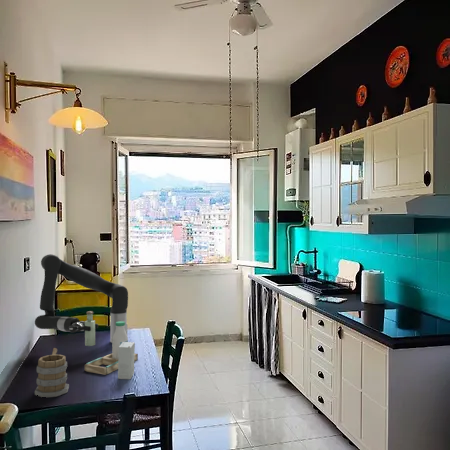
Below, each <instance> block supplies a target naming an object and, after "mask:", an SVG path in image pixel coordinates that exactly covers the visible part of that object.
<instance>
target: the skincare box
mask: <svg viewBox="0 0 450 450" xmlns="http://www.w3.org/2000/svg"><path fill="white" fill-rule="evenodd" d="M135 345H136V343H135V342H134V341H128V342H122V344H121V345H120V346H119V357H118V369H117V379H118V380H131V379H132V377H133V375H134V374H135V361H134V355H135V354H136V353H135V351H136V348H135V347H136V346H135Z"/></svg>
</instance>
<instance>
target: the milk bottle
mask: <svg viewBox="0 0 450 450" xmlns="http://www.w3.org/2000/svg"><path fill="white" fill-rule="evenodd" d="M124 327H125V322H123V321H119V322H116V330H115V333H114V335H113V341H112V343H111V344H112V347H111V349H112V350H111V351H112V358H113V359H118V357H119V346H120V345H121V344H122V342H129V338H128V333H127V334H126V331H125V328H124Z"/></svg>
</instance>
